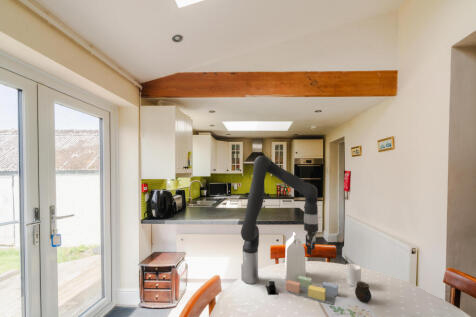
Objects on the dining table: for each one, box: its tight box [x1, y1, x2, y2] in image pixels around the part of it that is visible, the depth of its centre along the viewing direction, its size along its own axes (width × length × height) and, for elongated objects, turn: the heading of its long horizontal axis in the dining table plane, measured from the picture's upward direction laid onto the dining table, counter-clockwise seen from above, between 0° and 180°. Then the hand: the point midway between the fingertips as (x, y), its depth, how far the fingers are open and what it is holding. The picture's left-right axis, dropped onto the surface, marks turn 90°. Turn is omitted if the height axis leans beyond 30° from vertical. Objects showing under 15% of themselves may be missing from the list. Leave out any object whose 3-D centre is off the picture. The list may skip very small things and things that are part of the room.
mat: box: [288, 281, 336, 306], centre depth 118 cm, size 22×13×1 cm, turn 60°
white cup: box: [345, 263, 362, 288], centre depth 126 cm, size 8×8×10 cm
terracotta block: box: [285, 280, 300, 293], centre depth 120 cm, size 7×4×4 cm, turn 60°
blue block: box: [322, 281, 339, 297], centre depth 117 cm, size 7×4×4 cm, turn 60°
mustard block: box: [308, 284, 326, 301], centre depth 113 cm, size 8×4×4 cm, turn 60°
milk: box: [284, 231, 307, 282], centre depth 137 cm, size 12×12×26 cm
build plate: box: [265, 280, 279, 296], centre depth 121 cm, size 12×7×5 cm, turn 0°
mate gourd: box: [354, 281, 372, 304], centre depth 111 cm, size 7×8×10 cm
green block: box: [297, 276, 313, 288], centre depth 124 cm, size 7×4×4 cm, turn 60°
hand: (311, 251), depth 120 cm, fingers open, 8 cm apart
